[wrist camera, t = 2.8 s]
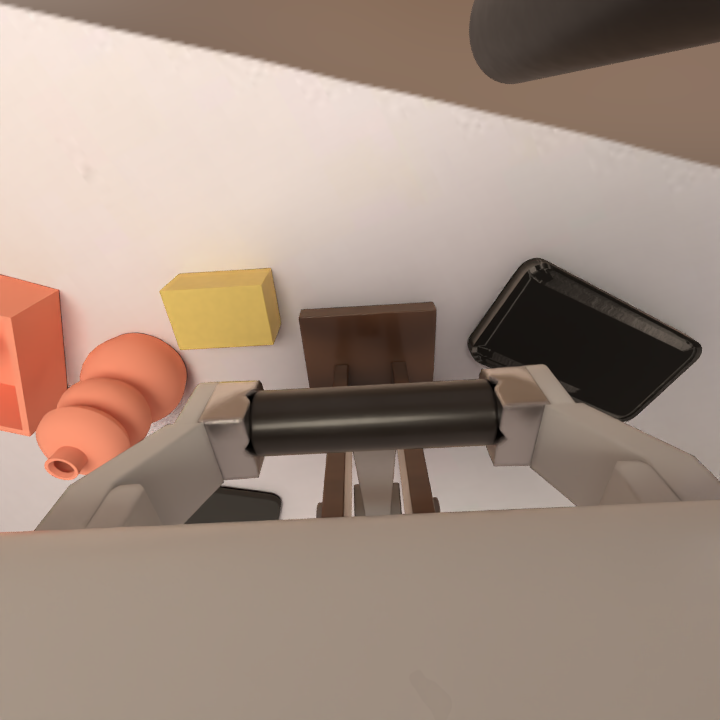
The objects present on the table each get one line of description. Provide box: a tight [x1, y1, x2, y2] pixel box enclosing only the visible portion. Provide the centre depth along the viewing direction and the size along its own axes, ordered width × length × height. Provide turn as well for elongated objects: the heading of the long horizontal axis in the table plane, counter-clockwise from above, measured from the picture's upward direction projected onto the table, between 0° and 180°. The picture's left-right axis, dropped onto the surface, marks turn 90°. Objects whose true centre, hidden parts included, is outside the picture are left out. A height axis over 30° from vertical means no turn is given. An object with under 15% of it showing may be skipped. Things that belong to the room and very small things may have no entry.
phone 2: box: [468, 258, 702, 422], centre depth 28 cm, size 8×1×15 cm
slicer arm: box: [250, 379, 498, 516], centre depth 15 cm, size 14×6×2 cm, turn 4°
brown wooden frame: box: [299, 302, 440, 518], centre depth 24 cm, size 12×9×14 cm
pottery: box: [0, 275, 187, 480], centre depth 24 cm, size 18×10×10 cm, turn 72°
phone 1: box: [184, 487, 281, 524], centre depth 37 cm, size 7×1×15 cm
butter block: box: [160, 268, 281, 350], centre depth 25 cm, size 4×6×3 cm, turn 94°
